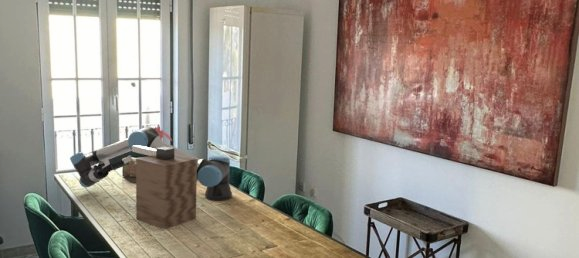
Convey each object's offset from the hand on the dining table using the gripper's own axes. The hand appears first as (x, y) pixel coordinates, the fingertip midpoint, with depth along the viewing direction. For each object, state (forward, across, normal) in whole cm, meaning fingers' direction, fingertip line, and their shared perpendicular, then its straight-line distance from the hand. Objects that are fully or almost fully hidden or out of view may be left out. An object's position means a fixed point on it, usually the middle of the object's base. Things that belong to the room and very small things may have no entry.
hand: (119, 159), depth 258 cm
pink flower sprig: (-26, -38, -12) cm, 48 cm away
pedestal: (+20, 0, -38) cm, 43 cm away
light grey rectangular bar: (+25, 0, -7) cm, 26 cm away
